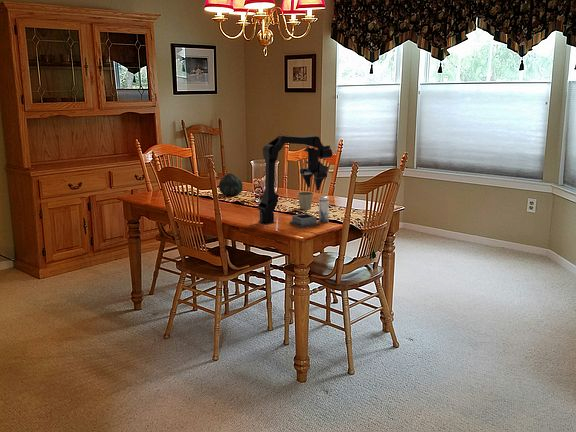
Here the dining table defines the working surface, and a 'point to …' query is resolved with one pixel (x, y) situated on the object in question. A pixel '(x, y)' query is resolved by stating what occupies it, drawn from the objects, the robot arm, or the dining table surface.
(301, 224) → the grey square tray
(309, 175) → the robot arm
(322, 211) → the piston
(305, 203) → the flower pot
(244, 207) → the dining table surface
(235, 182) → the squash
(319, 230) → the dining table surface
